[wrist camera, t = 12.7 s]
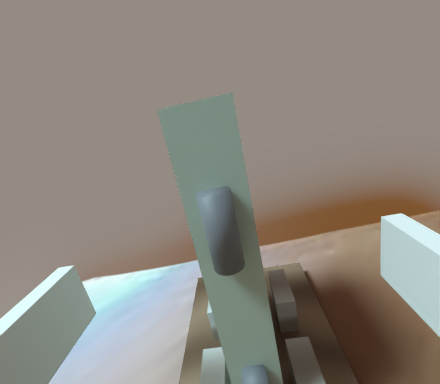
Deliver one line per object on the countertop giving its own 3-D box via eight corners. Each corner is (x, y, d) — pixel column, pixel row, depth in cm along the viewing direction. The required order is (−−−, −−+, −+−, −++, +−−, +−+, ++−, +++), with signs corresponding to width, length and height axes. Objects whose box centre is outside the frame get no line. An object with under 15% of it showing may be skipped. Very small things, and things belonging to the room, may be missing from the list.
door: (298, 467, 12) (233, 88, 6) (226, 472, 12) (107, 117, 7) (264, 301, 22) (229, 106, 17) (227, 306, 22) (180, 117, 17)
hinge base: (475, 649, 8) (496, 595, 7) (144, 649, 9) (104, 601, 8) (300, 273, 27) (296, 240, 26) (201, 288, 28) (192, 256, 27)
